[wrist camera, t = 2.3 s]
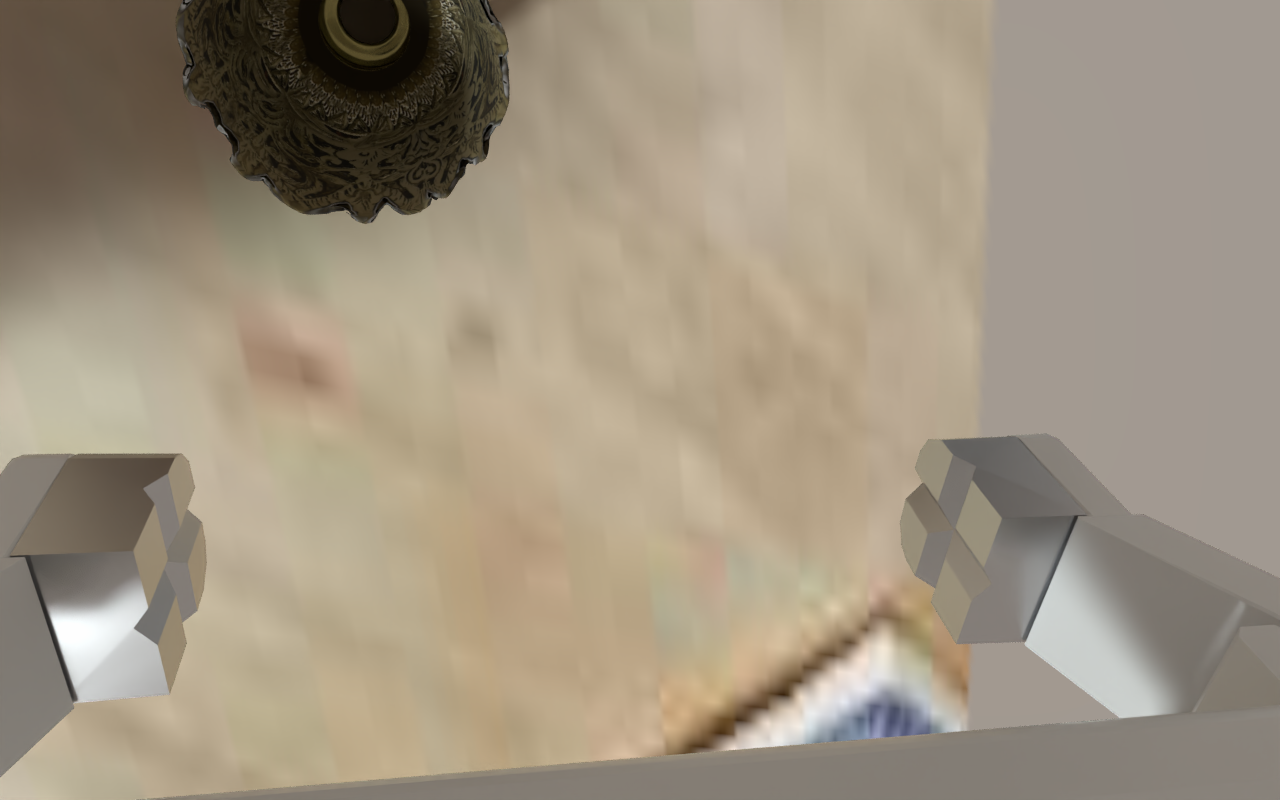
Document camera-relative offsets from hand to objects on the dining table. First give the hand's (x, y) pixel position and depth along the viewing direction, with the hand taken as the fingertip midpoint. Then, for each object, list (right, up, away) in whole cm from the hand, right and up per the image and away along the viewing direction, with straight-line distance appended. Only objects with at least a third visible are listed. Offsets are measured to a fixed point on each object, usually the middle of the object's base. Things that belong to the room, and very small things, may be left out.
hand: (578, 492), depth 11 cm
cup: (-8, +13, +18) cm, 24 cm away
